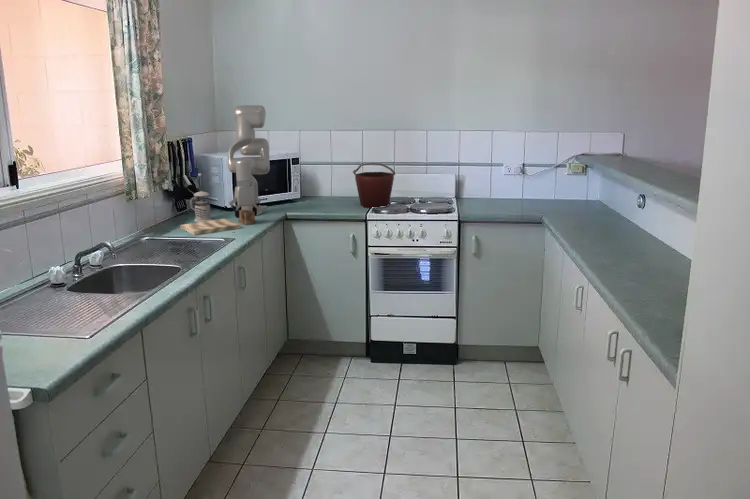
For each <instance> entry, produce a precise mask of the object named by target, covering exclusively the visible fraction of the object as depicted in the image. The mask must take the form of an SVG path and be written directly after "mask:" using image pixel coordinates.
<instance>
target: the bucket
mask: <svg viewBox="0 0 750 499" xmlns="http://www.w3.org/2000/svg"><path fill="white" fill-rule="evenodd" d="M369 165H376V166H382V167H384V168H386V169H387V170H390V171H391V172H387V171H386V172H385V171H365V172H360V173H357V172H358V171H359V170H360V169H361V168H362V167H363V166H369ZM352 173H353V175H354V178H355V184H356V188H357V189H356V190H357V193H358V200H359V203H360V206H361V207H362V206H363V208H364V209H373V208H372V207H380V206H387V205H388V204H389V205H390V201H391V196H392V190H393V185H394V180H395V176H396V172H395V170H393V168H392V167H390V166H388V165H385V164H383V163H380V162H379V163H378V162H370V163H369V162H368V163H362V164H360V165H359V166H358V167H357V168H356V169H353V171H352ZM389 205H388V206H389Z"/></svg>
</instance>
